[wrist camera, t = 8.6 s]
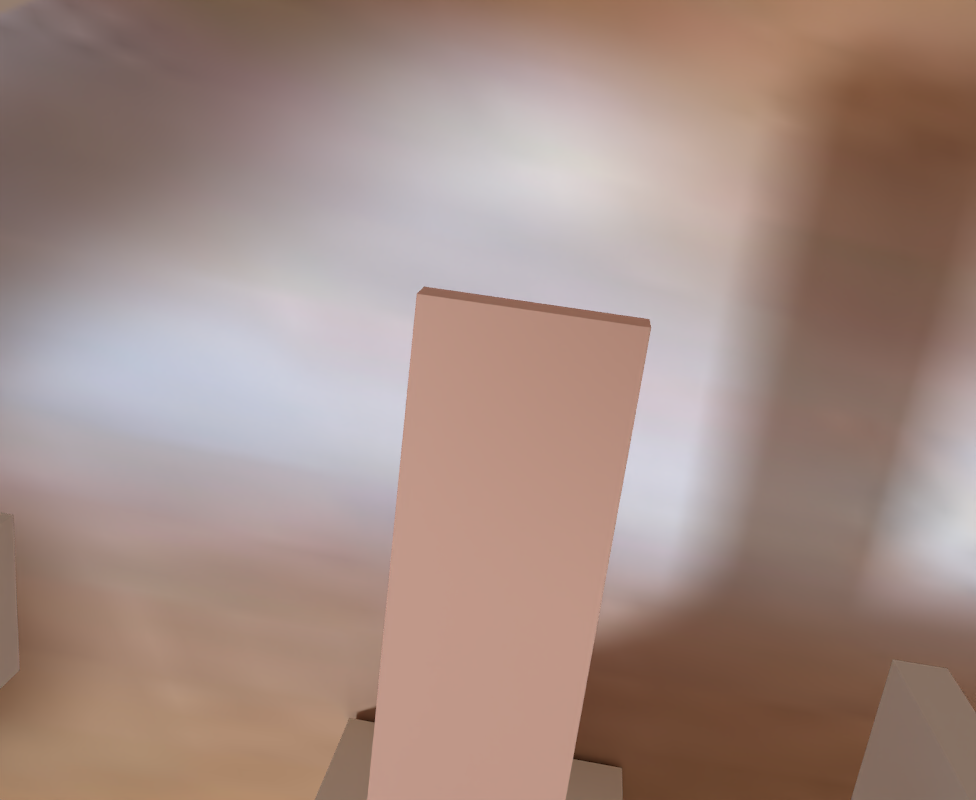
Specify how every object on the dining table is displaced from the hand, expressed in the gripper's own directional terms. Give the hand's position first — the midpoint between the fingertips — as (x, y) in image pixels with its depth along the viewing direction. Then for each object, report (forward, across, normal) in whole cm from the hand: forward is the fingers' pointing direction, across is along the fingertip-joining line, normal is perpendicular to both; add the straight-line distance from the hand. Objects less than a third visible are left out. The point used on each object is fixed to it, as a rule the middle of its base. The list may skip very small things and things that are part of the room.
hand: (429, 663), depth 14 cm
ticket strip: (+12, 0, -9) cm, 15 cm away
